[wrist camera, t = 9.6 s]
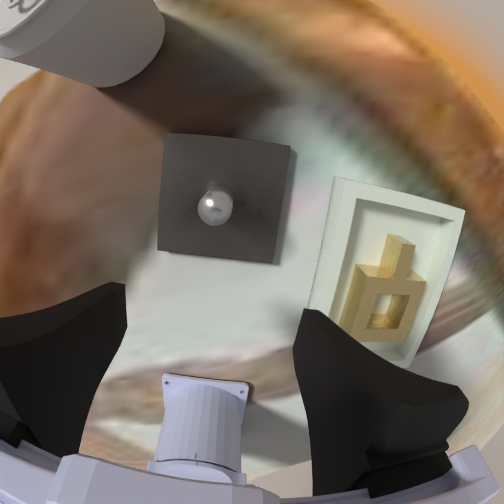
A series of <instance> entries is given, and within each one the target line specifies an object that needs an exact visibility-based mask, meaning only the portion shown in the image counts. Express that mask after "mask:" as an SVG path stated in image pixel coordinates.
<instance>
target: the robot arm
mask: <svg viewBox="0 0 504 504" xmlns="http://www.w3.org/2000/svg"><path fill="white" fill-rule="evenodd" d="M126 329H127V314H126V296H125V284H120V283H115V282H110V283H107V284H104V285H101V286H99V287H97V288H95V289H92V290H90V291H88V292H86V293H83V294H81V295H79V296H77V297H74V298H72V299H69V300H67V301H65V302H62V303H60V304H57V305H54V306H52V307H49V308H46V309H42V310H39V311H35V312H31V313H26V314H21V315H16V316H11V317H3V318H0V503H1V504H484V503H485V502H486V501H488V500H489V499H490V498H491V497H493V496H494V495H495V494H497V493H498V492H499V491H500V487H499V485H498V483H497V482H496V480H495V478H494V476H493V474H492V473H491V471H490V469H489V467H488V466H487V464H486V462H485V460H484V458H483V457H482V456H481V454H480V452H479V450H478V448H477V447H476V445H471V446H469V447H467V448H464V449H462V450H460V451H457V452H455V453H453V454H452V455H451V456H449V457H448V456H447V454H446V453H445V451H446V450H447V449H448V448H449V445H448V443H447V441H446V439H447V438H448V437H449V435H450V434H451V433H452V432H453V431H454V430H455V428H456V427H457V426H458V425H459V423H460V422H461V421H462V419H463V418H464V416H465V415H466V412H467V410H468V406H469V401H468V399H467V398H466V396H465V395H464V394H463V392H462V391H461V390H460V388H459V387H458V386H455V385H451V384H447V383H443V382H439V381H435V380H431V379H428V378H426V377H423V376H420V375H417V374H415V373H412V372H410V371H407V370H405V369H403V368H401V367H399V366H397V365H394V364H393V363H391V362H389V361H387V360H385V359H384V358H382V357H380V356H378V355H377V354H375V353H374V352H372V351H370V350H369V349H368V348H366V347H365V346H363V345H362V344H361V343H359V342H358V341H357V340H355V339H354V338H353V337H351V336H350V335H349V334H348V333H346V332H345V331H344V330H343V329H342V328H340V327H339V326H338V325H337V324H336V323H334V322H333V321H332V320H331V319H330V318H329V317H327V316H326V315H325V314H324V313H322V312H321V311H319V310H315V309H304V310H303V314H302V317H301V321H300V325H299V328H298V332H297V335H296V339H295V342H294V346H293V358H294V367H295V372H296V376H297V380H298V384H299V388H300V392H301V395H302V399H303V403H304V407H305V411H306V415H307V420H308V428H309V436H310V446H311V458H312V477H313V496H312V497H300V498H284V499H280V498H279V496H278V495H276V494H274V493H272V492H270V491H267V490H264V489H262V488H260V487H256V486H255V485H253V484H251V485H246V474H245V473H241V426H242V422H243V416H244V411H245V406H246V401H247V396H248V391H249V385H248V384H247V383H244V382H232V381H222V380H212V379H203V378H195V377H188V376H181V375H174V374H168V373H165V374H163V376H162V385H163V396H164V405H165V414H164V418H163V422H162V427H161V431H160V435H159V440H158V444H157V448H156V453H155V458H154V461H149V462H148V466H147V471H145V470H141V469H136V468H133V467H129V466H125V465H121V464H118V463H114V462H111V461H108V460H104V459H101V458H97V457H92V456H88V455H84V454H80V453H79V454H78V452H79V447H80V442H81V438H82V434H83V430H84V426H85V423H86V419H87V416H88V413H89V409H90V407H91V404H92V401H93V398H94V395H95V393H96V390H97V388H98V386H99V384H100V382H101V380H102V378H103V376H104V374H105V372H106V371H107V369H108V367H109V365H110V363H111V362H112V360H113V358H114V356H115V354H116V352H117V351H118V349H119V347H120V345H121V342H122V340H123V337H124V335H125V332H126ZM166 381H168V382H166ZM242 390H244V391H242Z"/></svg>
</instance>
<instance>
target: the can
mask: <svg viewBox="0 0 504 504" xmlns="http://www.w3.org/2000/svg"><path fill="white" fill-rule="evenodd" d="M164 34H165V23H164V17H163V16H162V14H161V13H160V11H159V9H158V8H157V6H156V5H155V3H154V1H153V0H0V58H4V59H8V60H12V61H15V62H19V63H23V64H26V65H30V66H33V67H36V68H40V69H43V70H46V71H49V72H52V73H55V74H58V75H61V76H64V77H67V78H70V79H73V80H76V81H79V82H82V83H84V84H87V85H91V86H94V87H97V88H98V87H112V86H115V85H117V84H120V83H123V82H126V81H128V80H129V79H131V78H132V77H134V76H135V75H137V74H138V73H140V72H141V71H142V70H143V69H144V68H145V67H146V66H147V65H148V64H149V63H150V62H151V61H152V60H153V59H154V57H155V55H156V54H157V52H158V50H159V49H160V47H161V45H162V42H163V38H164Z"/></svg>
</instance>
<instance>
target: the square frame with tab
mask: <svg viewBox="0 0 504 504" xmlns="http://www.w3.org/2000/svg"><path fill="white" fill-rule="evenodd" d="M415 247H416V245H414V244H413V243H411V242H409V241H408V240H406V239H405V238H403V237H401V236H398V235H392V234H387V237H386V241H385V245H384V249H383V253H382V257H381V261H380V265H379V266H375V265H365V264H356V263H355V267H354V271H353V275H352V279H351V283H350V286H349V290H348V294H347V297H346V301H345V304H344V307H343V311H342V314H341V317H340V321H339V324H338V325H339V327H340V328H342V329H343V330H344V331H345V332H346V333H348V334H349V335H350V336H351V337H353V338H354V339H355V340H357V341H358V342H392V341H404V340H405V338H406V335H407V333H408V331H409V328H410V326H411V323H412V321H413V318H414V316H415V313H416V311H417V308H418V305H419V303H420V300H421V297H422V294H423V291H424V288H425V286H426V283H427V281H426V280H424V279H423V278H422V277H421V276H419V275H418V274H417V273H416V272H414V271H413V270H412V269H409V268H410V265H411V262H412V258H413V254H414V251H415ZM378 293H381V294H392V297H391V300H390V303H389V306H388V309H387V312H386V314H371V313H372V310H373V307H374V304H375V300H376V297H377V294H378Z"/></svg>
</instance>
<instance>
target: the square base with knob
mask: <svg viewBox="0 0 504 504" xmlns="http://www.w3.org/2000/svg"><path fill="white" fill-rule="evenodd" d="M289 150H290V146H288V145H282V144H275V143H268V142H261V141H254V140H246V139H238V138H229V137H219V136H208V135H195V134H180V133H166V136H165V145H164V154H163V164H162V175H161V187H160V202H159V219H158V246H157V250H160V251H168V252H177V253H185V254H194V255H203V256H211V257H220V258H229V259H238V260H247V261H256V262H265V263H272V260H273V254H274V248H275V241H276V235H277V229H278V223H279V217H280V210H281V204H282V197H283V191H284V184H285V178H286V171H287V164H288V157H289Z"/></svg>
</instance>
